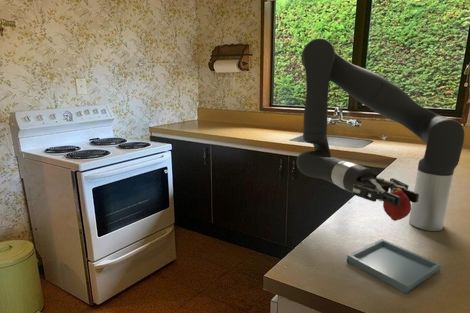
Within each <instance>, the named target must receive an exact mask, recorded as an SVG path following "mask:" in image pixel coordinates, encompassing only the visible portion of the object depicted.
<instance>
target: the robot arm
mask: <svg viewBox="0 0 470 313" xmlns="http://www.w3.org/2000/svg"><path fill="white" fill-rule="evenodd" d="M303 47H304V48H303V50H302V52H301V56H300V59H301V63H302V66H303V68H304V72H305V79H306V80H305V81H306V93H305V94H306V95H305V104H304V111H303V129H302V130H303V132H302V139H303V142H305V143H307V144H311V145H313V150H308V151H307V150H306V151H303V152H301V153H299V154H298V156H297V157H296V167H297V169H298V170H299V172H301V174H303V175H305V176H307V177H310V178H311V177H312V178H316V179H320V180H324V181H327V182H329V183H331V184H334V185H336V186H337V187H339V188H341V189H343V190H345V191H347V192H349V193H352V195H353V196H355V197H359V198H362V199H364V200H367V201H370V202H373V203H374V202H376V201H379V202H381V203H383V202H384V201H385V202H387V203H389V204H392V205H394V206H400V202H401V197H399V196H397V195H394V194H392V192H395V191H396V188H400V189H401V190H402V191H403V193H405V194H406V195H407V196H408V198H409V200H410V203H411V210H410V213H409V218H408V222H409V224H411V225H412V226H414V227H415V228H418V229H420V230H423V231H430V232H439V231H443V229H444V228H443V227H444V224H445V219H446V213H447V208H448V202H449V198H450V193H451V192H450V191H451V188H452V183H453V177H454V172H455V169H456V168H457V166H458V165H459V161H460V159H461V155H462V151H463V146H464V141H465V130H464V126H463V125H462V124H461V123H460V122H459V121H458V120H455V119H453V118H449V117H446V116H443V115H440V114H439V113H438V114H437V113H435V112H434V111H431V110H430V109H427V108H425V107H424V106H422V105H420V103H419V104H418V103H417V102H416V101H415V100H414V99H413V98H411V97H410V95H408V93H406V92H405V91H404V90H403V89H402V88H400V87H399V86H398V85H396V84H395V83H393V82H391V81H390V80H388V79H387V78H385V77H383V76H382V75H379V74H378V73H375V72H373V71H372V70H371V71H370V70H368V69H366V68H364V67H361V66H359V65H355V64H353V63H352V62H349V61H348V60H347V59H345V58H344V57H342V56H341V55H340V54H338V53H337V52H336V51H335V48H334V46H333V44H332V42H331V41H329V40H328V39H327V38H323V37H319V38H314V39H312V40H310V41H309V42H308V43H307V44H306V45H305V46H303ZM330 82H331V83H333V84H334V85H336V86H338V87H339V88H341V89H342V90H343V91H345V92H346V93H347V94H348V95H349V96H351V97H352V98H353V99H355V100H356V101H358V102H359V103H361V104H362V105H363V106H365V107H366V108H368V109H369V110H371V111H373V112H375V113H377V114H378V115H381V116H382V117H384V118H385V119H389V120H390V121H393V122H396V123H397V124H400V125H402V126H403V127H405V128H406V129H407V130H409V131H410V132H412V133H413V134H414V135H416V137H418V138H419V139H420V140H422V142H424V143H425V144H426V146H425V147H426V148H425V150H424V156H423V158H421V159H420V160H419V161H418V164H417V165H418V166H417V170H416V171H417V172H416V175H415V176H416V177H415V183H414V188H413V191H412V190H410V189H409V184H407V183H404V182H402V181H399V180H398V179H396V178H389V180H386V179H385V178H383V177H377V175H376V173H375V171H374V170H373V169H371V168H369V167H365V166H364V165H360V164H358V163H354V162H351V161H346V160H343V159H339V158H337V157H332V154H331V150H330V145H329V141H328V133H327V132H328V116H329V115H328V111H329V110H328V109H329V108H328V105H329V104H328V103H329V88H330Z"/></svg>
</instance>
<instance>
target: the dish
mask: <svg viewBox="0 0 470 313" xmlns="http://www.w3.org/2000/svg"><path fill="white" fill-rule="evenodd" d="M346 258H347V259H346V262H347V263H349V264H350V265H352V266H354V267H356V268H358V269H359V270H361V271H363V272H364V273H366V274H368V275H369V276H373V277H374V278H376V279H377V280H380V281H381V282H384V283H385V284H387V285H389V286H391V287H393V288H395V289H396V290H398V291H400V292H402V293H404V294H406V295H408V294H409V293H411V292H412V291H414V290H416V288H418V287H420V286H421V285H423V284H424V283H425V282H427V281H428V280H430V279H431V278H433V277H434V276H436V275H437V274H439V273H440V272H441V267H442V264H440V263H438V262H436V261H433V260H431V259H429V258H426V257H424V256H422V255H419V254H417V253H415V252H412V251H410V250H408V249H406V248H404V247H401V246H399V245H397V244H394V243H393V242H390V241H387V240H385V239H379V240H377V241H375V242H373V243H371V244H369V245H367V246H365V247H362V248H360V249H358V250H356V251H354V252H351V253H349V254H347V257H346ZM432 276H433V277H432ZM429 278H430V279H429ZM426 280H427V281H426Z"/></svg>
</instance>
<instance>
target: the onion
mask: <svg viewBox="0 0 470 313" xmlns="http://www.w3.org/2000/svg"><path fill="white" fill-rule="evenodd" d="M392 194H394V195H397V196H399V197H401V202H400V206H394V205H392V204H389V203H387V202H385V201H382V203H383V204H382V205H383V206H382V207H383V210H384V212H385V213H386V215H387V216H389V217H390V219H391V220H392V221H394V222H396V221H400V220H402V219H404V218H406V217H408V216H409V215H410V212H411V206H412V202H411V201H410V200H409V198H408V196H407V195H406V194H405V193H403V191H402V190H401V189H400V188H396V191H395V192H392Z"/></svg>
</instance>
